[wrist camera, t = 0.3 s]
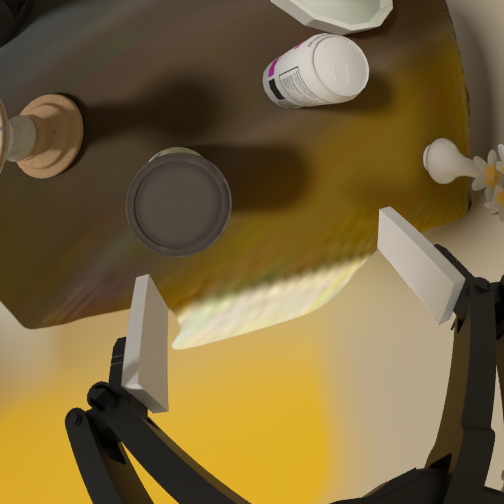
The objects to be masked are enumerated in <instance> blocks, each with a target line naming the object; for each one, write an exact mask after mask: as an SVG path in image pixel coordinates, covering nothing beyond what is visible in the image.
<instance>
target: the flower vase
mask: <svg viewBox="0 0 504 504" xmlns="http://www.w3.org/2000/svg"><path fill="white" fill-rule="evenodd" d="M498 151H499V154H500V157H501V159H502V162H503V163H502V162H496V153H495V151H494V150H491V151H490V152H489V155H488V164H489V165H488V164H487V163H486V162H485V161H484V160H483V159H481V158H480V157H478V156H475V157H474V159H473V160H471V159H469V158H466V157H465V156H463V155H462V154H461V153H460V152H459V150H458V148H457V147H456V145H455V144H454V143H453V142H451V141H450V140H448V139H446V138H439V139H436V140H435V141H433V142H432V143H431V144H430V145H428V146H427V147H426V149H425V151H424V154H423V164H424V167H425V169H426V170H427V171H428V173H429V175H430V176H431V178H432V179H433V180H434V181H435V182H437V183H439V184H448V183H450V182H452V181H454V180H455V179H456V178H457V177H460V176H468V177H473V178H476V179H475V180H474V181H473V183H472V189H473V190H475V191H478V190H480V189H483V188H485V187H487V188H486V191H485V197H486V200H487V202H486V203H485V204H484V207H485V208H487V209H495V208H497V207H498V206H499V211H498V212H496V213H494V214H493V215H499V219H500V220H501V221H502V222H504V146H503V145H502V144H500V145H499V146H498ZM496 186H497V187H496ZM493 196H496V197H494V198H493ZM499 204H500V205H499Z"/></svg>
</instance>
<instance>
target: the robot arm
mask: <svg viewBox="0 0 504 504" xmlns="http://www.w3.org/2000/svg"><path fill="white" fill-rule="evenodd" d="M34 1H35V0H0V47H1V46H2V45H3V44H4V43H6V42H7V41H8V40H9V39H10V38H11V37H12V36H13V35H14V34H15V33H16V31H17V30H18V29H19V28H20V26H21V25H22V24H23V22H24V21H25V19H26V18H27V16H28V14H29V13H30V11H31V8H32V6H33V4H34ZM377 248H378V249H379V250H380V251H381V253H382V254H383V255H384V256H385V257H386V259H387V260H388V261H389V262H390V263H391V264H392V266H393V267H394V268H395V269H396V270H397V272H398V273H399V274H400V275H401V276H402V278H403V279H404V280H405V281H406V283H407V284H408V285H409V287H410V288H411V289H412V290H413V291H414V293H415V294H416V295H417V297H418V298H419V299H420V300H421V302H422V303H423V304H424V306H425V307H426V309H427V310H428V311H429V313H430V314H431V315H432V316H433V318H434V319H435V321H436V322H437V323H438V325H440V324H442V323H443V322H445V321H447V320H449V319H450V317H451V315H452V313H453V311H454V313H455V314H456V315H457V316H456V318H455V320H454V323H453V325H452V328H451V330H453V328H454V326H455V329H454V330H455V331H454V342H453V353H452V361H451V369H450V377H449V383H448V389H447V395H446V400H445V405H444V410H443V415H442V419H441V423H440V428H439V432H438V435H437V439H436V442H435V445H434V447H433V449H432V450H431V452H430V454H429V456H428V459H427V462H426V464H425V467H424V468H423V469H416V468H414V469H412V470H410V471H408V472H406V473H404V474H402V475H400V476H398V477H396V478H394V479H392V480H390V481H388V482H385V483H383V484H381V485H379V486H378V487H376V488H375V489H373V490H372V491H371V492H369V493H368V494H366V495H365V496H363V497H362V498H355V499H348V500H341V501H336V502H333V503H330V504H504V486H503V488H502V490H501V491H499V490H496V489H492V488H489V487H486V486H484V485H485V481H486V477H487V474H488V470H489V466H490V461H491V457H492V452H493V447H494V442H495V432H494V431H493V430H492V429H491V420H492V413H493V403H494V393H495V380H496V365H497V371H498V377H499V383H500V390H501V398H502V408H503V419H504V275H503V276H502V278H501V280H500V282H493V283H489V281H487V280H486V279H484V278H481V277H476V278H475V277H474V276H473V275H472V274H471V273H470V272H468V270H467V269H466V268H465V267H464V266H463V265H462V264H461V263H460V262H459V261H457V259H456V258H455V257H454V256H452V254H451V253H450V252H449V251H448V250H447V249H446V248H444V247H442V246H440V245H439V244H435V245H432V244H431V243H430V242H429V241H428V240H427V239H426V238H425V237H424V236H423V235H422V234H421V233H419V232H418V231H417V230H416V229H415V228H414V227H413V226H412V225H411V224H410V223H409V222H407V221H406V220H405V219H404V218H403V217H402V216H401V215H400V214H398V213H397V212H396V211H395V210H394V209H393V208H391V207H386V208H382V209H379V231H378V247H377ZM167 331H168V307H167V306H166V304H165V302H164V300H163V299H162V297H161V295H160V293H159V292H158V290H157V288H156V286H155V284H154V283H153V281H152V279H151V277H150V275H149V274H147V275H144V276H140V277H137V278H136V282H135V288H134V293H133V299H132V305H131V311H130V317H129V324H128V331H127V337H123V338H118V339H117V341H116V343H115V345H114V347H113V353H112V360H111V367H110V375H109V383H107V382H102V381H101V382H98V383H96V384H94V385H93V386H92V387H91V388H90V390H89V392H88V394H87V401H88V404H89V405H90V406H91V407H92V409H90V410H87V411H84V410H82V409H81V408H73V409H71V410H70V411H69V412H68V414H67V416H66V418H65V426H66V430H67V434H68V437H69V441H70V443H71V447H72V450H73V453H74V456H75V459H76V462H77V465H78V468H79V470H80V473H81V476H82V478H83V481H84V484H85V486H86V488H87V491H88V493H89V496H90V498H91V500H92V502H93V504H154V503H153V501H152V500H151V498H150V496H149V495H148V493H147V491H146V490H145V488H144V486H143V484H142V482H141V481H140V479H139V477H138V475H137V473H136V471H135V470H134V467H133V466H132V464H131V462H130V460H129V458H128V456H127V454H126V452H125V449H124V447H123V445H122V443H123V444H124V445H125V446H126V448H127V449H128V450H129V451H130V453H131V454H132V455H133V456H134V457H135V458H136V460H137V461H138V462H139V463H140V464H141V465H142V466H143V468H144V469H145V470H146V471H147V472H148V473H149V474H150V475H151V476H152V477H153V478H154V479H155V480H156V481H157V483H159V484H160V485H161V487H162V488H163V489H165V491H166V492H168V494H170V495H171V496H172V497H173V498H174V499H175V500H176V501H177V502H178V503H179V504H251V503H249V502H248V501H247V500H245V499H244V498H242V497H241V496H239V495H238V494H237V493H235V492H234V491H232V490H231V489H230V488H228V487H227V486H226V485H224V484H223V483H222V482H220V481H219V480H218V479H217V478H215V477H214V476H213V475H212V474H210V473H209V472H208V471H207V470H205V469H204V468H203V467H202V466H200V465H199V464H198V463H197V462H196V461H195V460H194V459H192V458H191V457H190V456H189V455H188V454H187V453H186V452H185V451H183V450H182V449H181V448H180V447H179V446H178V445H177V444H176V443H175V442H174V441H173V440H171V439H170V437H168V436H167V435H166V434H165V433H164V432H163V431H162V430H161V429H160V428H159V427H158V426H157V425H156V424H155V423H154V422H153V421H152V420H151V419H150V418H149V417H148V412H147V411H148V409H149V410H150V411H151V412H152V413H161V412H168V384H167V383H168V381H167V380H168V379H167V338H168V337H167V336H168V335H167V334H168V332H167ZM121 442H122V443H121ZM501 478H502V480H503V481H504V470H503V472H502V475H501Z"/></svg>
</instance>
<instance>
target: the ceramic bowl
mask: <svg viewBox="0 0 504 504" xmlns="http://www.w3.org/2000/svg"><path fill="white" fill-rule="evenodd" d="M270 1H271V2H272V3H274V4H275V5H277V6H278V7H280V8H281V9H282V10H284V11H285V12H287V13H288V14H290V15H291V16H292V17H294V18H295V19H297V20H298V21H299V22H301V23H302V24H303V25H305V26H308V27H312V28H316V29H320V30H323V31H327V32H330V33H334V34H337V35H340V36H342V35H346V34H351V33H356V32H361V31H367V30H370V29H373V28H376V27H379V26H380V25H381V24H382V22H383V21H384V20H385V18H386V17H387V16H388V14H389V13H390V12H391V10H392V9H393V3H392V0H270Z"/></svg>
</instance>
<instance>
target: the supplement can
mask: <svg viewBox="0 0 504 504" xmlns="http://www.w3.org/2000/svg"><path fill="white" fill-rule="evenodd" d="M368 79H369V67H368V63H367V59H366V57H365V55H364V54H363V52H362V50H361V49H360V48H359V47H358V46H357V45H356V44H355V43H354V42H353V41H351V40H349V39H347V38H345V37H343V36H338V35H332V34H327V33H325V34H320V35H315V36H313V37H311V38H309V39H308V40H306V41H304V42H303V43H301V44H299V45H298V46H296V47H294V48H293V49H291V50H289V51H288V52H286V53H285V54H283V55H281V56H280V57H278V58H277V59H275V60H274V61H273V62H271V63H270V64H269V65H268V66H267V68H266V70H265V72H264V75H263V85H264V89H265V92H266V93H267V95H268V96H269V98H270V99H271V100H272V101H273V102H275V103H276V104H277V105H279V106H282V107H284V108H287V109H297V108H303V107H310V106H317V105H325V104H334V103H343V102H346V101H349V100H352V99H354V98H355V97H356V96H357V95H358V94H359V93H360V92H361V90H362V89H363V88H365V86H366V83H367V81H368Z"/></svg>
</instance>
